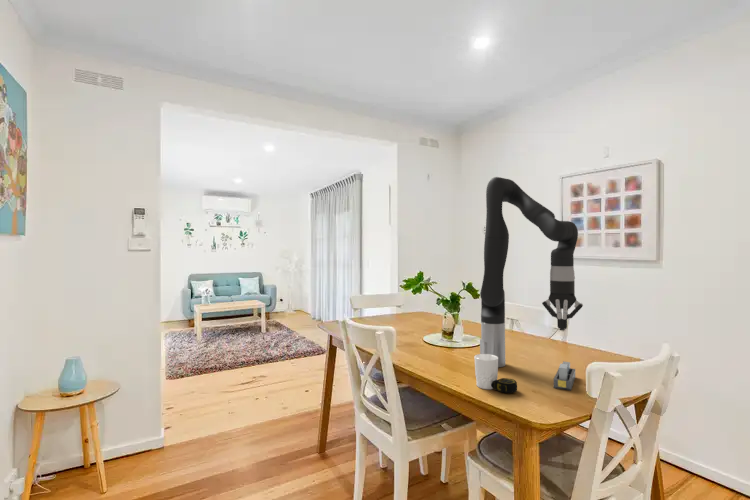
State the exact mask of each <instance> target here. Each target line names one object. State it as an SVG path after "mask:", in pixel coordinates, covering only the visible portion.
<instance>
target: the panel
mask: <svg viewBox="0 0 750 500" xmlns="http://www.w3.org/2000/svg"><path fill="white" fill-rule="evenodd" d="M558 369H559V379H561V380H567V381H568V365H567V364H562V363H559V367H558Z"/></svg>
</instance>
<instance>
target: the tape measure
mask: <svg viewBox="0 0 750 500" xmlns="http://www.w3.org/2000/svg"><path fill="white" fill-rule="evenodd" d="M517 383H518V382H517V381H516V380H515V379H513V378H507V377H506V378H505V377H502V378H499V379H498V378H497V380H495V381H493V382H492V384H491V386H492V387H493V389H492V390H494V391H498V392H501V393H504V394H513V393H515V392H517V391H518V384H517Z"/></svg>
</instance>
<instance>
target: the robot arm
mask: <svg viewBox="0 0 750 500" xmlns="http://www.w3.org/2000/svg"><path fill="white" fill-rule="evenodd" d="M485 189H486V191H485V193H486V195H485V201H486V205H485V206H486V217H485V218H486V219H485V234H484V241H483V242H484V245H483V246H484V247H483V260H484V261H483V262H484V268H483V269H484V270H483V278H482V285H481V288H480V294H479V295H480V296H479V297H480V301H481V303H480V304H481V310H480V311H481V313H480V323H481V324H480V331H481V332H480V333H481V339H479V354H491V355H495V356H497V357H498V368H503V367H506V321H505V320H506V303H505V302H506V301H505V300H506V298H505V294H506V293H505V289H504V271H505V266H506V262H507V258H508V251H509V244H510V234H509V229H508V226H507V223H506V222H505V219H504V215H503V203H508V204H511V205H513V206H515V207H516V208H517V209H519V211H520V212H521V214H522V215H523V216H524V218H526V220H528V221H529V222H530V223H532V224H533V225H534V226H536V227H537V228H538V229H539V230H540V232H541V233H542V234H543V235H544V237H546V238H547V239H549V240H550V241H553V242H557V246H556V248H554V249H552V250H551V251H550V270H549V271H550V272H549V296H548V299H546V300H544V301H542V302H541V303H542V306H543V307H544V308H545V309H546V310H547V312H548V313H549V314H550V315H551V317H552V318H555V319H557V324H556V325H557V328H558V329H559V331H566V329H568V319H572V318H573V317H574V316H575V315H577V314H578V312H579V311H580V310H581V309H582V307H583V306H584V305H583V303H582V302H579V301H578V300H577V297H576V296H575V293H576V292H575V279H576V277H575V269H574V259H575V258H574V253H575V249H576V246H577V242H578V237H579V231H578V226H577V225H576V224H575V222H573V221H570V220H558V219H557V218H556V215H555V213H554V212H553V211H551V210H550V209H548V208H547V207H546V206H544V205H543V204H541V203H540V202H538V201H536V200H535V199H534V198H533V197H531V196H530V195H528V193H527V192H525V191H524V190H523V189H522V188H521V187H520V186H519V184H517V183H516V182H515V181H514V180H512V179H510V178H505V177H499V176H494V177H492V178H491V179H490V180H489V181H488V183H487V185H486V188H485ZM551 305H552V306H553V307H554V308H555V310H556V311H555V310H554V309H553V307H552V306H551ZM573 305H574V306H573ZM571 307H574V309H573V310H572V311H571V312H570V313H569V309H571ZM568 313H569V314H568Z"/></svg>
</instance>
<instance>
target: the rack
mask: <svg viewBox="0 0 750 500" xmlns="http://www.w3.org/2000/svg"><path fill="white" fill-rule="evenodd" d="M561 364H567V365H568V381H567V380H561V379H559V368H558V369H557V371H556V373H555V375H554V378H553V389H557V390H564V391H570V392H572V390H573V385H574V383H575V380H576V368H572V367H571V362H570V361H562V362H561Z"/></svg>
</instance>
